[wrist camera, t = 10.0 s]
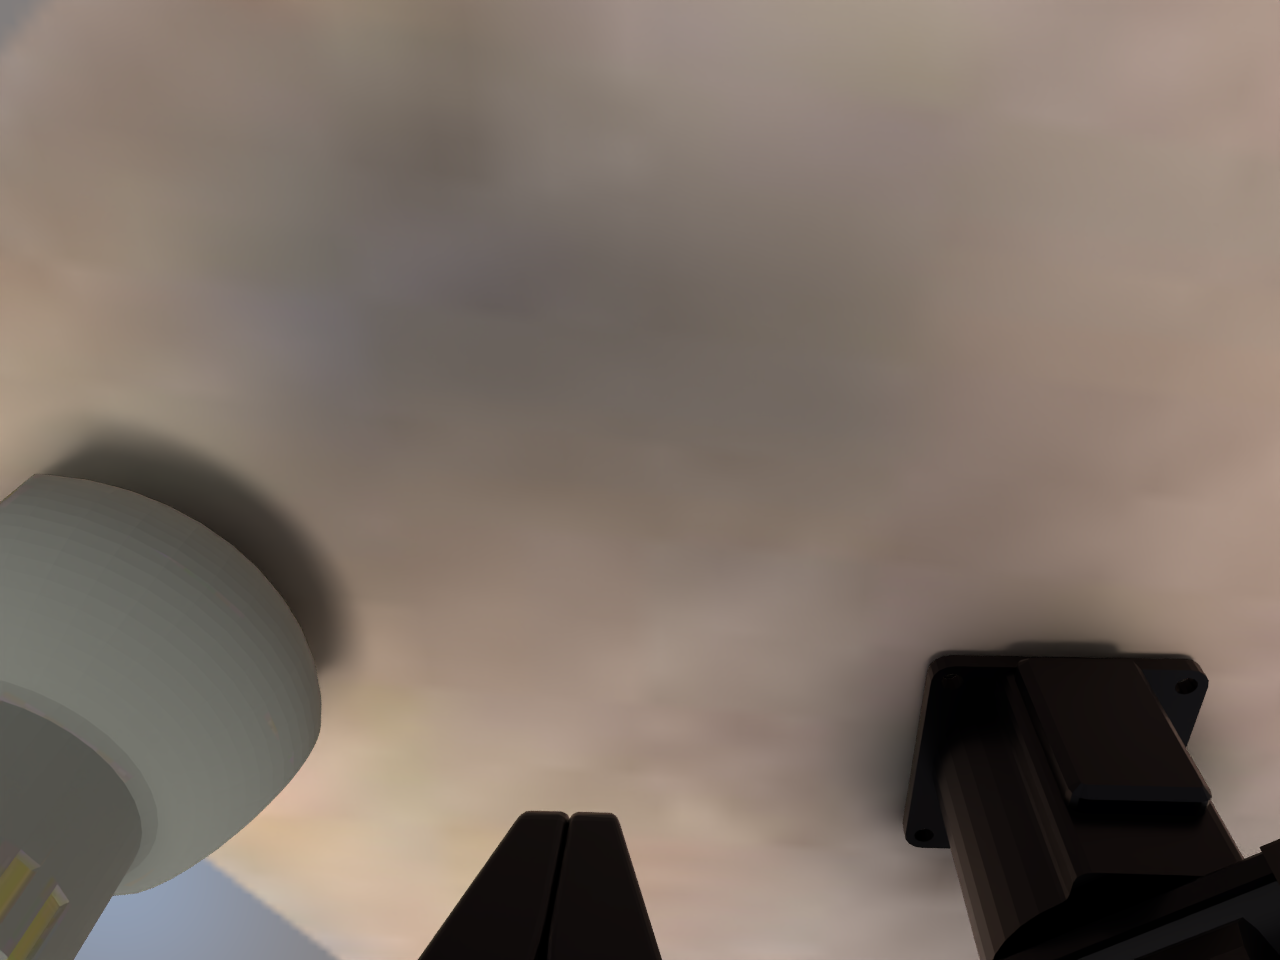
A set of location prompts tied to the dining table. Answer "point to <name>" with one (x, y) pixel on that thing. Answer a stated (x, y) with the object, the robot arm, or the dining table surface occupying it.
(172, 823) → the air freshener
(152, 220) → the dining table surface
